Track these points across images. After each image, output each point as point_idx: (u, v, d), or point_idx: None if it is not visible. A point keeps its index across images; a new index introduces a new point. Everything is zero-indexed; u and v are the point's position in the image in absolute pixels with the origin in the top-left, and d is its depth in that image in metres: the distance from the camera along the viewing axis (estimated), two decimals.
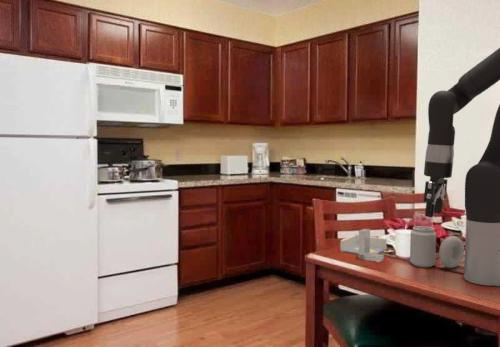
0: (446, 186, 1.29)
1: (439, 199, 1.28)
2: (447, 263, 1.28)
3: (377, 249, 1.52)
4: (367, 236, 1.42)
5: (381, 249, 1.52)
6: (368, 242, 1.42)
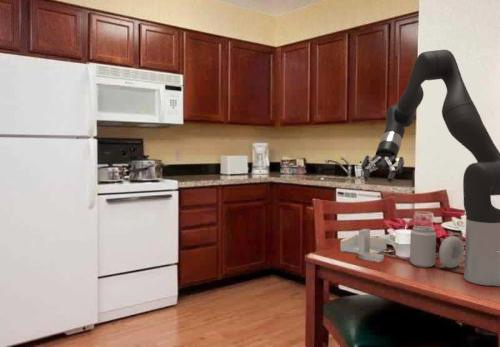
0: (400, 161, 1.49)
1: None
2: (447, 263, 1.28)
3: (377, 249, 1.52)
4: (367, 236, 1.42)
5: (381, 249, 1.52)
6: (368, 242, 1.42)
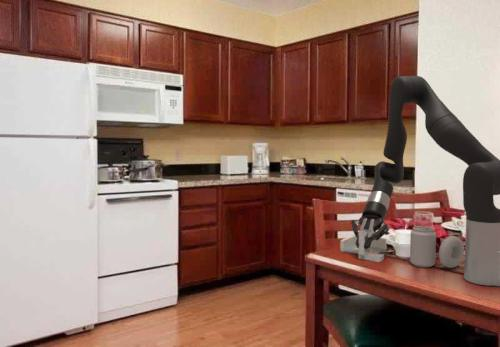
0: (382, 228, 1.41)
1: None
2: (447, 263, 1.28)
3: (377, 249, 1.52)
4: (367, 236, 1.42)
5: (381, 249, 1.52)
6: None
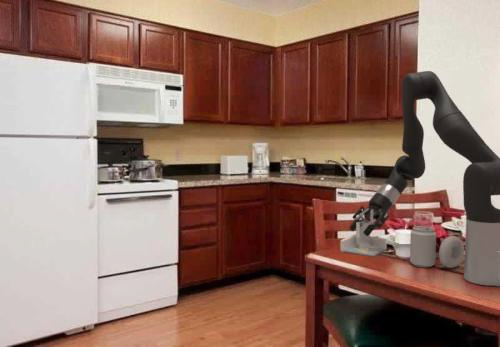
0: (381, 215, 1.47)
1: None
2: (447, 263, 1.28)
3: None
4: (365, 228, 1.52)
5: (381, 249, 1.52)
6: None
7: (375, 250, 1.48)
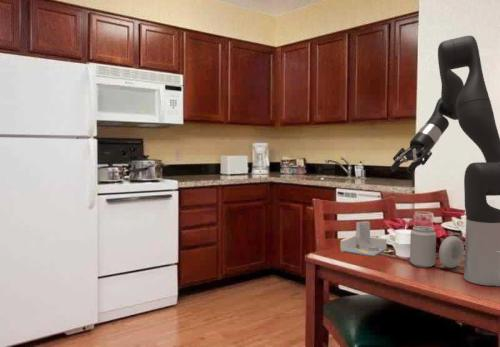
0: (425, 152, 1.47)
1: None
2: (447, 263, 1.28)
3: None
4: (365, 228, 1.52)
5: (381, 249, 1.52)
6: (366, 234, 1.52)
7: (375, 250, 1.48)
